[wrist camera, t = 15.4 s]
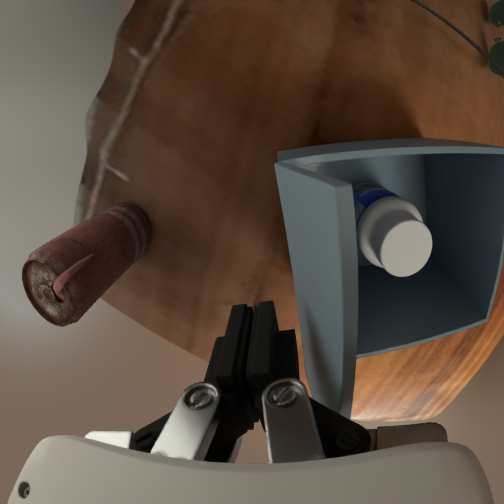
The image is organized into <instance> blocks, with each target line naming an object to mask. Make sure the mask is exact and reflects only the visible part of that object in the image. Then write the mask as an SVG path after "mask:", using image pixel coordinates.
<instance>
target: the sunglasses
mask: <svg viewBox="0 0 504 504" xmlns="http://www.w3.org/2000/svg"><path fill="white" fill-rule="evenodd" d="M411 1H413V2H415V3H417V4H418V5H420V6H422V7H423V8H425V9H426V10H428V11H430V12H431V13H432V14H434V15H435V16H437V17H438V18H439V19H441V20H442V21H443V22H445V23H446V24H447V25H449V26H450V27H451V28H453V29H454V30H455V31H456V32H458V33H459V34H460V35H461V36H462V37H464V38H465V39H466V40H467V41H468V42H469V43H470V44H472V45H473V46H474V47H475V48H476V49H477V50H478V51H479V52H480V53H481V54H482V55H483V56H484V57H485V58H486V59H487V60H488V67H489V69H490V71H491V72H492V73H494V74H495V75H498V76H501V77H503V78H504V41H500V40H501V38H495V39H494V41H495V42H496V43H494V44H493V45H492V46H491V48H490V50H489V54H488V55H487V54H486V53H485V52H484V51H483V50H482V49H481V48H480V47H479V46H478V45H477V44H475V43H474V42H473V41H472V40H471V39H470V38H469V37H467V36H466V35H465V34H464V33H463V32H461V31H460V30H459V29H458V28H456V27H455V26H454V25H452V24H451V23H450V22H448V21H447V20H446V19H444V18H443V17H442V16H440V15H439V14H437V13H436V12H434V11H433V10H431V9H430V8H428V7H427V6H425V5H423V4H422V3H420V2H418V1H416V0H411ZM489 21H490V23H491V24H492V25H494V26H496V27H501V26H504V0H499V1H497V2H495V3H494V4H493V5H492V6H491V8H490V11H489ZM497 41H499V42H497Z"/></svg>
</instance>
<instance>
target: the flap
mask: <svg viewBox="0 0 504 504" xmlns="http://www.w3.org/2000/svg"><path fill="white" fill-rule="evenodd" d="M274 167H275V172H276V177H277V183H278V188H279V194H280V200H281V205H282V211H283V217H284V223H285V229H286V235H287V241H288V247H289V254H290V260H291V267H292V273H293V280H294V287H295V294H296V301H297V308H298V316H299V324H300V331H301V339H302V348H303V356H304V365H305V374H306V378H307V381H308V384H309V388H310V391H311V394H312V398H313V399H314V400H316V401H317V402H319V403H321V404H323V405H324V406H326V407H328V408H330V409H331V410H333V411H335V412H337V413H338V414H340V415H342V416H344V417H346V418H348V419H350V417H351V409H352V401H353V392H354V382H355V370H356V356H357V337H358V254H357V235H356V221H355V209H354V198H353V189H352V185H351V184H349V183H346V182H344V181H341V180H338V179H335V178H332V177H329V176H326V175H323V174H320V173H316V172H313V171H310V170H307V169H304V168H300V167H297V166H294V165H290V164H287V163H283V162H280V163H275V164H274Z"/></svg>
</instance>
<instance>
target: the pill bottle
mask: <svg viewBox="0 0 504 504" xmlns="http://www.w3.org/2000/svg"><path fill="white" fill-rule="evenodd" d="M352 189H353V198H354V209H355V221H356V235H357V245H358V247H359V249H360V250H361V252H362V253H363V254H364V256H365V257H366V258H367V259H368V260H369V261H370V262H371V263H372V264H374V265H376V266H379V267H382V268H385V270H386V271H387V272H389V273H390V274H392V275H394V276H398V277H406V276H410V275H412V274H414V273H416V272H418V271H419V270H420V269H421V268H422V267H423V266H424V265H425V264H426V262H427V261H428V259H429V257H430V254H431V250H432V237H431V233H430V231H429V229H428V228H427V227H426V225H424V224H423V220H422V217H421V215H420V213H419V211H418V210H417V208H416V207H415V206H414V205H413V204H411V203H410V202H409V201H407V200H405V199H404V198H402V197H400V196H398V195H397V194H395V193H393V192H391V191H389V190H387V189H386V188H384V187H382V186H380V185H377V184H374V183H361V184H358V185H356V186H354V187H353V188H352Z"/></svg>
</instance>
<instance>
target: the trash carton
mask: <svg viewBox="0 0 504 504" xmlns="http://www.w3.org/2000/svg"><path fill="white" fill-rule="evenodd" d="M277 156H278V163H280V162H283V163H287V164H290V165H294V166H297V167H300V168H304V169H307V170H310V171H313V172H316V173H320V174H323V175H326V176H329V177H332V178H335V179H338V180H341V181H344V182H346V183H349V184H351V185H352V188H353V187H354V186H356V185H358V184H361V183H374V184H377V185H380V186H382V187H384V188H386V189H387V190H389V191H391V192H393V193H395V194H397V195H398V196H400V197H402V198H404V199H405V200H407V201H409V202H410V203H411V204H413V205H414V206H415V207H416V208H417V210H418V211H419V213H420V215H421V217H422V220H423V224H424V225H426V227H427V228H428V229H429V231H430V233H431V237H432V250H431V254H430V257H429V259H428V261H427V262H426V264H425V265H424V266H423V267H422V268H421V269H420V270H419V271H418V272H416V273H414V274H412V275H410V276H406V277H398V276H394V275H392V274H390V273H389V272H387V271H386V270H385V268H382V267H379V266H376V265H374V264H372V263H371V262H370V261H369V260H368V259H367V258H366V257H365V256H364V254H363V253H362V252H361V250H360V249H359V247H358V245H357V254H358V337H357V356H356V359H358V358H363V357H368V356H373V355H378V354H382V353H387V352H391V351H395V350H399V349H403V348H407V347H411V346H415V345H418V344H422V343H425V342H429V341H432V340H436V339H439V338H442V337H445V336H448V335H451V334H454V333H457V332H460V331H463V330H466V329H469V328H472V327H474V326H477V325H480V324H482V323H485V322H487V321H488V319H489V315H490V312H491V309H492V305H493V302H494V298H495V294H496V290H497V286H498V282H499V277H500V273H501V268H502V262H503V257H504V147H499V146H493V145H487V144H480V143H473V142H465V141H456V140H445V139H433V138H399V139H380V140H365V141H353V142H343V143H333V144H325V145H317V146H309V147H302V148H295V149H288V150H282V151H277Z"/></svg>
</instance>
